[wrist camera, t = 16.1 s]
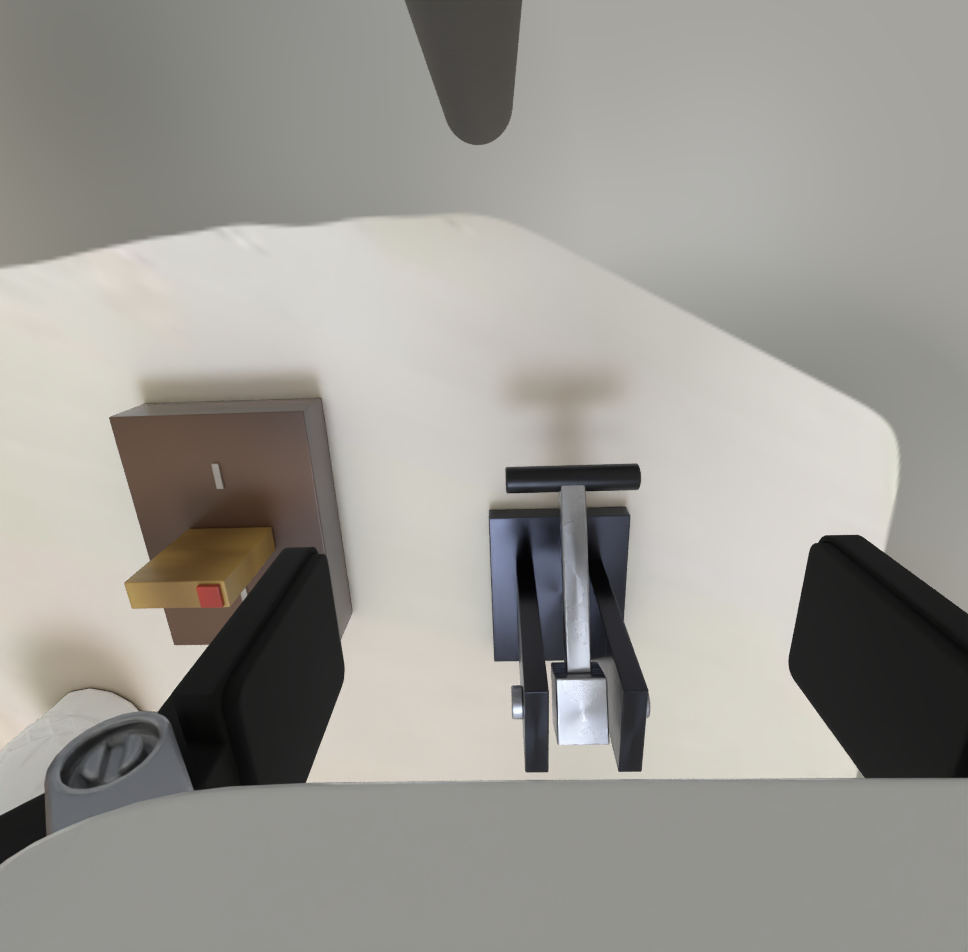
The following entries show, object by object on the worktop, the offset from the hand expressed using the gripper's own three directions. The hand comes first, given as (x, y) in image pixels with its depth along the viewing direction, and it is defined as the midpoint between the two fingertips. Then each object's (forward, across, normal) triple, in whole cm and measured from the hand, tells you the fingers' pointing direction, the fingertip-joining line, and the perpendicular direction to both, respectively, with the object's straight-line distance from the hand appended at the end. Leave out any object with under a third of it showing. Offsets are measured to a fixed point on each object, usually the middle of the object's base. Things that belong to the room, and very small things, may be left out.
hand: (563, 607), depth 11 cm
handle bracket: (+20, -2, +12) cm, 24 cm away
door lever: (+13, -2, +8) cm, 16 cm away
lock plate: (+20, +16, +7) cm, 27 cm away
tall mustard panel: (+17, +16, +7) cm, 25 cm away
